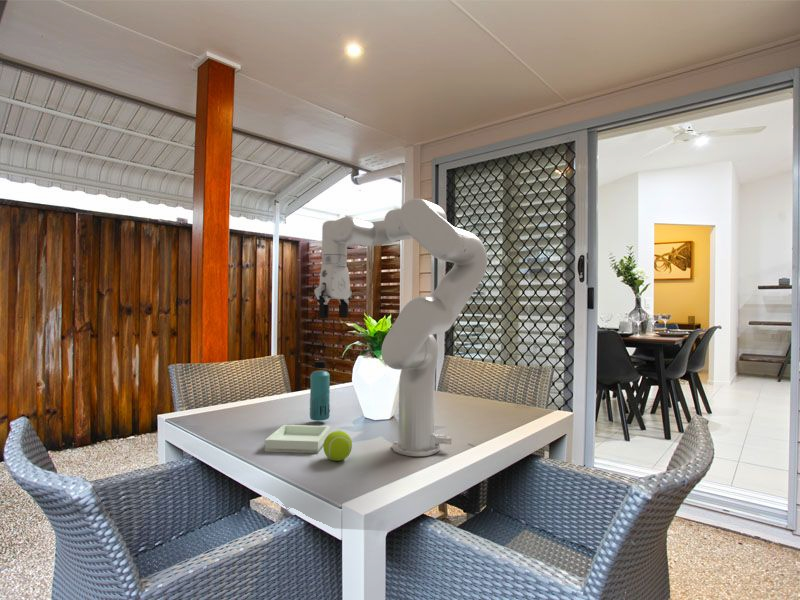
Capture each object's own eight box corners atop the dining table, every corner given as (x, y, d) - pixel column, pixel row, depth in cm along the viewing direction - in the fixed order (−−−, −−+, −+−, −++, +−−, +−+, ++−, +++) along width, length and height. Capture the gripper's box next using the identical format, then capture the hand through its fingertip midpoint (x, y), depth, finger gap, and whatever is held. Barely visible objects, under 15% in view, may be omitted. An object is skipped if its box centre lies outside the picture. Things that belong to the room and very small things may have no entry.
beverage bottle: (318, 426, 134) (319, 362, 134) (304, 423, 138) (305, 360, 138) (334, 422, 139) (334, 360, 139) (320, 418, 143) (320, 358, 143)
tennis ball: (321, 456, 108) (321, 428, 108) (348, 453, 110) (348, 426, 110) (325, 466, 101) (326, 436, 101) (354, 463, 103) (355, 434, 104)
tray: (330, 436, 124) (330, 426, 124) (317, 453, 110) (318, 441, 110) (283, 435, 125) (283, 424, 125) (264, 451, 111) (265, 439, 111)
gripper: (326, 258, 122) (326, 318, 121) (360, 264, 137) (360, 317, 137) (306, 259, 125) (305, 318, 125) (341, 264, 140) (340, 317, 140)
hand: (334, 317), depth 131 cm, fingers open, 9 cm apart
